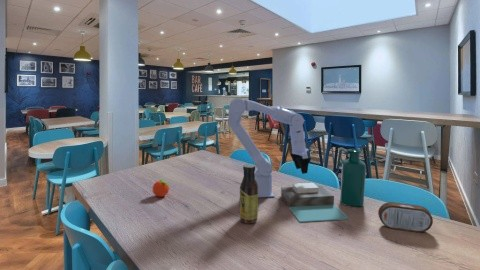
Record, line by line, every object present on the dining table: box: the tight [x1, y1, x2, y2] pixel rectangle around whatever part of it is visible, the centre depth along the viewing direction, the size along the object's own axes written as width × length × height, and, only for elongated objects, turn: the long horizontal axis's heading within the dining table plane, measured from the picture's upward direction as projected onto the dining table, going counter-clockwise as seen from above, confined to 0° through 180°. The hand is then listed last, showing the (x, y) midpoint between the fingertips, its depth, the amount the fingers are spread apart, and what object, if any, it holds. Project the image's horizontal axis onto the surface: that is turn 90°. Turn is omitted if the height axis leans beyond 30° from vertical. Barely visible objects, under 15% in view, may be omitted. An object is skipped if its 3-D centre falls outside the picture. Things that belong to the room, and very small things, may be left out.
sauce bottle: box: [239, 163, 259, 224], centre depth 92 cm, size 7×6×20 cm
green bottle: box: [339, 146, 367, 208], centre depth 107 cm, size 10×8×22 cm
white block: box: [292, 182, 319, 193], centre depth 111 cm, size 9×6×2 cm, turn 96°
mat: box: [288, 204, 350, 223], centre depth 99 cm, size 18×12×1 cm, turn 96°
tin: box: [377, 201, 434, 233], centre depth 86 cm, size 15×3×8 cm, turn 70°
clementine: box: [152, 179, 170, 197], centre depth 116 cm, size 8×7×7 cm
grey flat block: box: [280, 185, 335, 208], centre depth 110 cm, size 18×12×4 cm, turn 96°
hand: (301, 170), depth 117 cm, fingers open, 7 cm apart
